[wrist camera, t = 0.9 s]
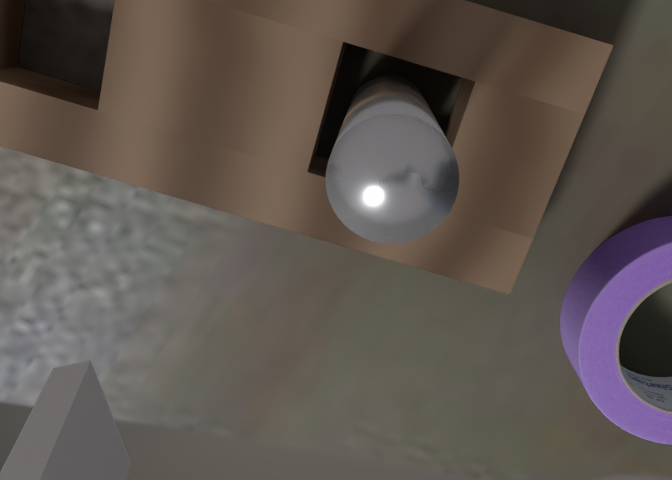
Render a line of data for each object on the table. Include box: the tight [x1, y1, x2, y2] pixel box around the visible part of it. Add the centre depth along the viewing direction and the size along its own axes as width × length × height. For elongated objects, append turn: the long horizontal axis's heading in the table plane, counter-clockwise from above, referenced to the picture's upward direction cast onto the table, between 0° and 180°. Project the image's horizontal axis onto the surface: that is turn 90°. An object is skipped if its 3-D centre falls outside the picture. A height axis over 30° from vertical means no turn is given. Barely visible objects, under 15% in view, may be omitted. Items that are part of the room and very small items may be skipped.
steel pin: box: [325, 75, 459, 244], centre depth 26 cm, size 4×4×14 cm
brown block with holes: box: [0, 0, 614, 295], centre depth 30 cm, size 32×12×4 cm, turn 74°
